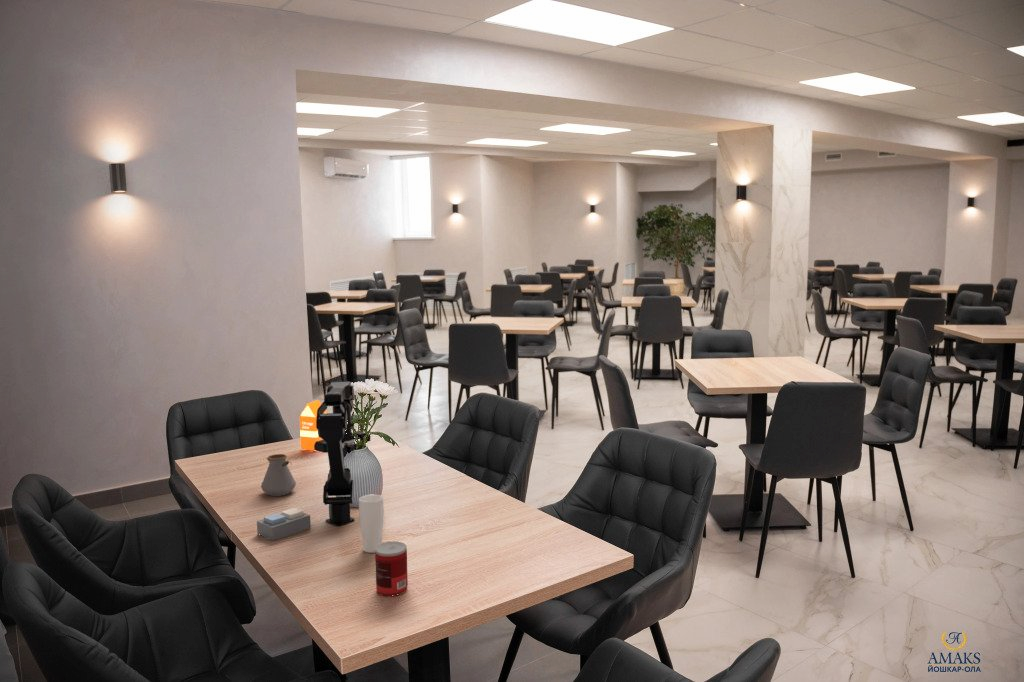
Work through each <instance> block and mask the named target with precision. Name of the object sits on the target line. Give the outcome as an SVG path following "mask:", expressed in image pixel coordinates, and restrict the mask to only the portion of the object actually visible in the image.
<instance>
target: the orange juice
mask: <svg viewBox="0 0 1024 682" xmlns="http://www.w3.org/2000/svg"><path fill="white" fill-rule="evenodd" d="M321 404H322V403H321V402H320V400H319V399H316V400H313V401H311V402H308V403H306V406H305V407H304V409H303V410H302V412H301V413H300V415H299V434H300V435H299V437H300V450H301V449H306V450H314V444H315V442H316V441H320V440H323V439H322V438H320V437H319V436H318V430H317V429H316V418H317V409H318V408H319V407H320V405H321ZM326 413H328V412H327V411H326V410H325V412H324V413H323V414H326Z"/></svg>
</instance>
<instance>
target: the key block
mask: <svg viewBox="0 0 1024 682" xmlns="http://www.w3.org/2000/svg"><path fill="white" fill-rule="evenodd" d="M280 514H281V515H282V512H281V513H280ZM311 528H312V525H311V514H308V513H306V512H303V516H300V517H297V518H294V519H287V518H286V521H284V522H281V523H278V524H275V525H270V524H268V523H265V522H264V518H262V519H260V520H257V521H256V532H257V535H258V534H260V535H262V536H261V537H263V536H264V537H263V538H265V537H266V538H265V539H267V538H269V539H268V540H270V539H271V540H270V541H272V540H274V541H277V540H279V538H280V539H283V538H285V537H288V536H292V535H294V534H298V533H299V532H303V531H306V530H309V529H311ZM260 535H259V536H260ZM282 537H283V538H282ZM276 539H277V540H276Z"/></svg>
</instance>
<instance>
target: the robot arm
mask: <svg viewBox="0 0 1024 682" xmlns="http://www.w3.org/2000/svg"><path fill="white" fill-rule="evenodd" d="M355 396H356V395H355V390H354V385H353V384H352V382H351V381H331V382H330V384H329V385H328V386H327V389H326V393H325V394H324V399H323V401H322V403H321V405H320V407H319V408H318V409H317V418H316V429H317V430H318V436H319V437H320V438H322V439H323V440H320V441H316V442H315V444H314V450H316V451H317V452H321V453H323V454H324V453H325V454H326V453H327V459H328V463H329V464H328V465H329V470H328V474H327V480H325V484H324V485H323V492H322V494H323V495H322V503H323V504H324V506H326V505H327V506H328V513H329V514H328V517H329V518H326V519H325V523H326V522H327V523H329V524H332V525H334V526H337V527H340V526H343V525H345V524H348V523H351V522H354V521H355V518H354V517H351V504H353V502H354V499H355V498H354V497H355V487H354V486H355V482H354V479H352V473H351V469H350V468H349V467H345V466H344V457H345V456H346V454H347V452H348V453H350V452H351V451H353V450H354V451H355V448H357V447H358V445H357V444H355V441H354V440H357V441H359V440H358V439H359V438H354V434H353V435H352V432H353V431H352V427H355V423H354V422H352V412H353V410H354V406H355V404H354V405H353V402H354V401H355V399H356V397H355ZM328 407H332V413H331V412H329V413H328V412H327V413H326V414H323V413H324V412H325V411H326V410H328ZM347 420H348V421H347ZM347 422H348V425H347ZM346 429H347V430H346ZM345 430H346V431H345ZM356 431H357V435H358V437H360V438H361V440H360V441H361V442H362V441H363V437H364V436H365V435H366V434H365V433H363V432H361V431H362V430H356ZM346 433H347V434H346ZM367 436H368V435H367ZM366 438H367V437H366ZM370 441H371V434H370V433H369V437H368V439H367V442H366V443H369V442H370ZM362 443H364V441H363V442H362ZM354 451H353V452H354Z"/></svg>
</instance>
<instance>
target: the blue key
mask: <svg viewBox="0 0 1024 682" xmlns="http://www.w3.org/2000/svg"><path fill="white" fill-rule="evenodd" d="M263 519H264V522H265V523H268V524H270V525H275V524H278V523H281V522H284V521H286V516H283V515H281V513H279V512H275V513H273V514H269V515H266V516H264V517H263Z"/></svg>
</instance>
